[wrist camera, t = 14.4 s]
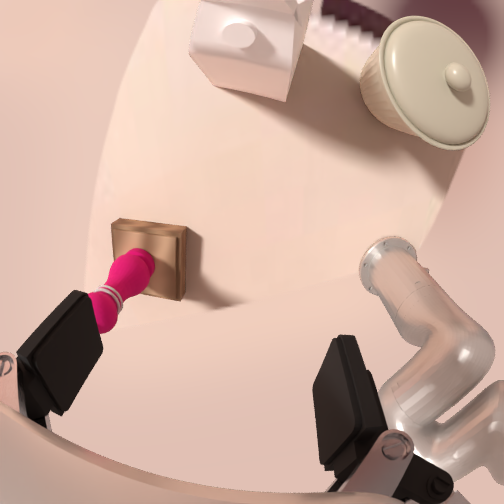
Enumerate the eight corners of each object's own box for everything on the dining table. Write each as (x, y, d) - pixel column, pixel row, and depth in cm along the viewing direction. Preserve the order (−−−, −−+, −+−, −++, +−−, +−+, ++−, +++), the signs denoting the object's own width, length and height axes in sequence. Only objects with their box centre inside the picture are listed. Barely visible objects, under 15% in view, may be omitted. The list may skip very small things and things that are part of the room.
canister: (420, 157, 40) (498, 180, 21) (331, 119, 40) (380, 108, 20) (439, 74, 33) (514, 61, 14) (354, 30, 32) (404, -22, 13)
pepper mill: (161, 279, 49) (114, 354, 31) (129, 280, 49) (76, 348, 31) (152, 243, 46) (93, 309, 28) (119, 246, 47) (55, 306, 28)
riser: (186, 226, 49) (180, 234, 45) (185, 292, 54) (179, 303, 51) (119, 218, 49) (109, 224, 45) (124, 280, 54) (115, 290, 51)
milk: (303, 43, 34) (337, -41, 11) (285, 102, 39) (306, 60, 15) (232, 27, 34) (195, -61, 10) (213, 85, 38) (149, 35, 15)
